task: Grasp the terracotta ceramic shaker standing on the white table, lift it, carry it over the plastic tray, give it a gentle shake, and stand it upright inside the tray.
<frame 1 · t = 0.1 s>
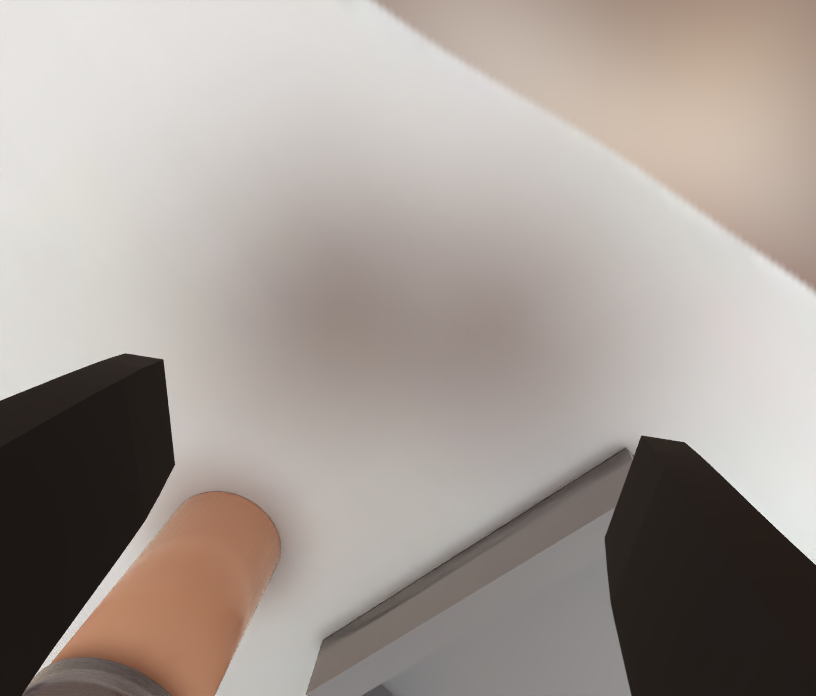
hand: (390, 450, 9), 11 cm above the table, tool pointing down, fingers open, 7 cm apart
shaker: (225, 540, 23), on the table
tray: (576, 677, 23), on the table
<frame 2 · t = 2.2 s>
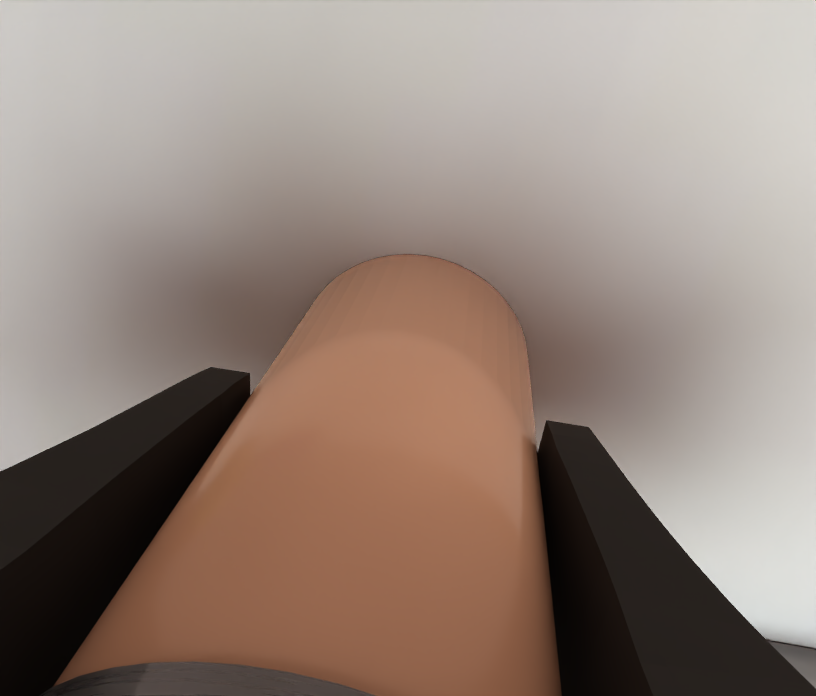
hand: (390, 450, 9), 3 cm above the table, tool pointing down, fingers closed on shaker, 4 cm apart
shaker: (411, 363, 11), on the table, touching gripper
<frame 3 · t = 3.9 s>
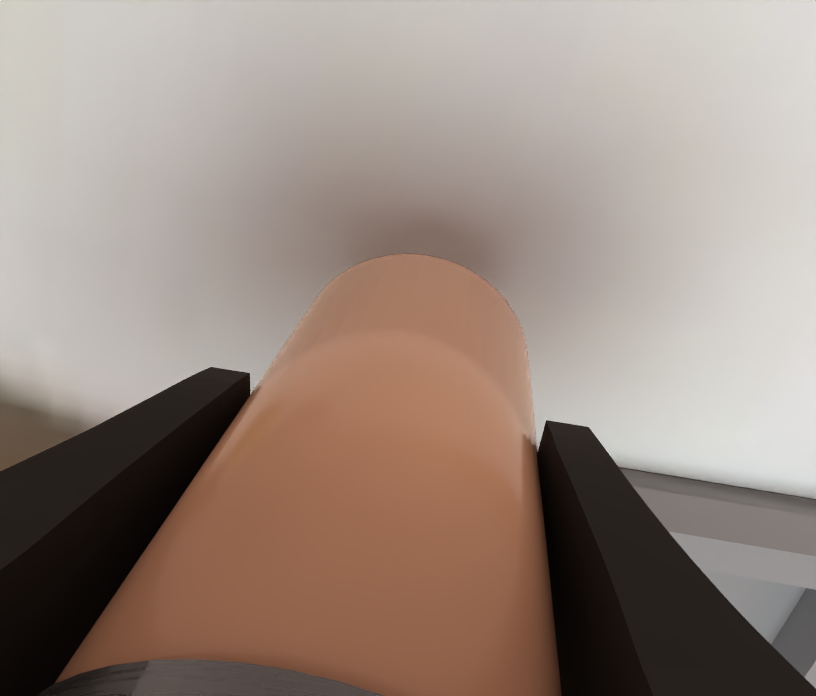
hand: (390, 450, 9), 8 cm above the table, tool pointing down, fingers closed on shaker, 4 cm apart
shaker: (411, 363, 11), point 5 cm above the table, touching gripper
tray: (580, 620, 22), on the table
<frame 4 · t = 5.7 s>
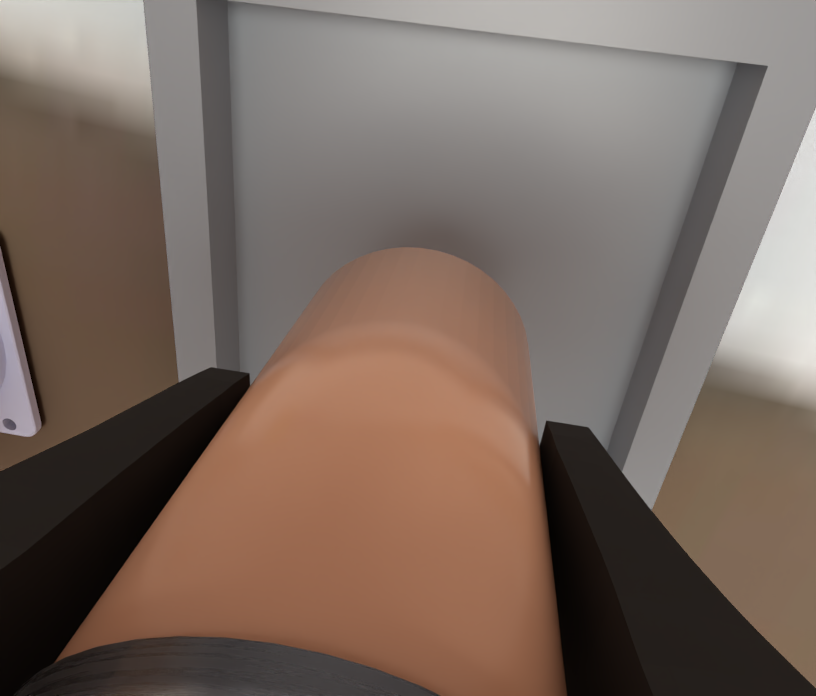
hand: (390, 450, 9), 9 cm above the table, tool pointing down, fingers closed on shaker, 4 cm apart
shaker: (412, 357, 11), point 7 cm above the table, touching gripper
tray: (443, 261, 17), on the table
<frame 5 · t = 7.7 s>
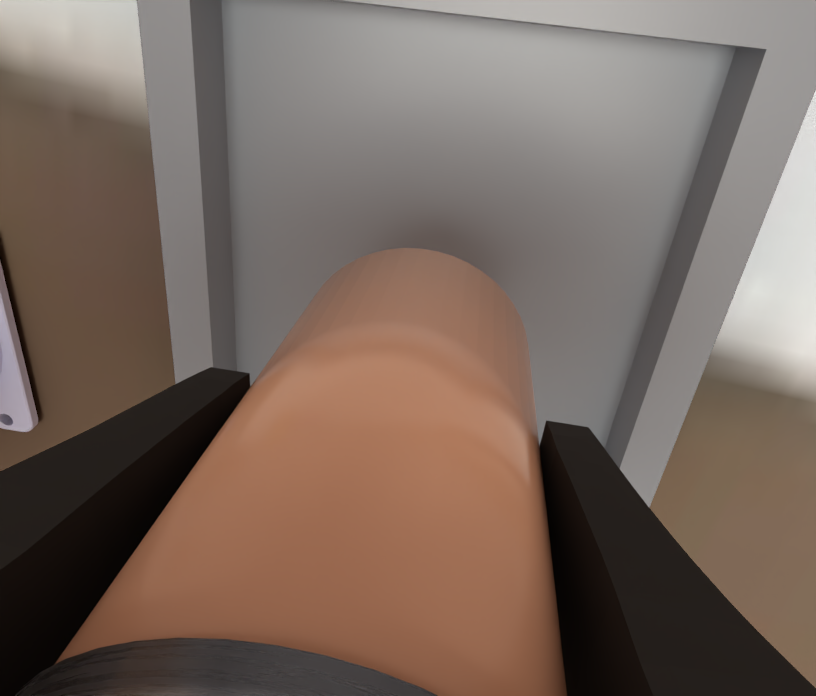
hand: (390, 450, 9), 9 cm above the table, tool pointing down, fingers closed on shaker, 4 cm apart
shaker: (412, 358, 11), point 7 cm above the table, touching gripper
tray: (440, 252, 17), on the table
when the fingers open (5 cm above the table, at t = 9.2 s): shaker drops 1 cm, resting on tray.
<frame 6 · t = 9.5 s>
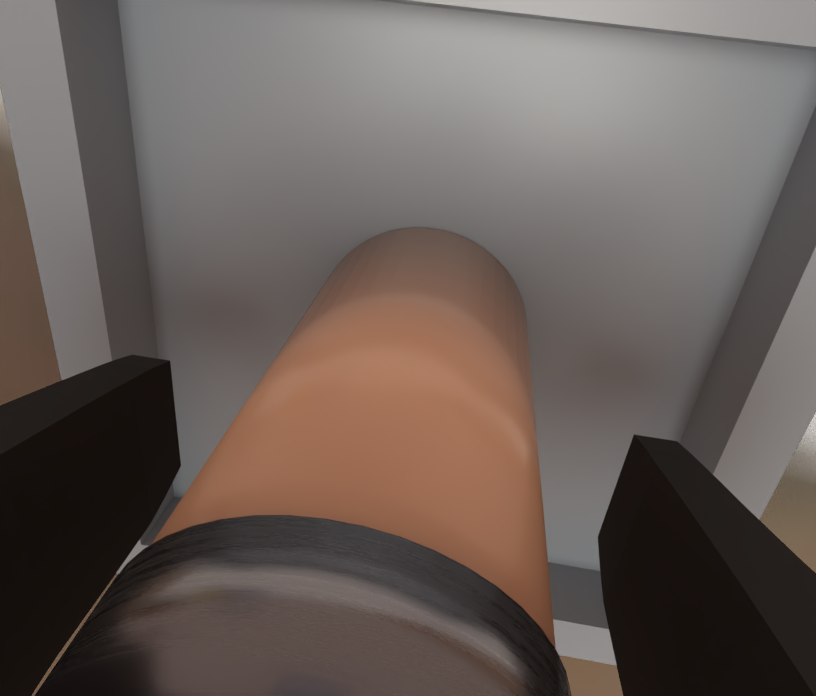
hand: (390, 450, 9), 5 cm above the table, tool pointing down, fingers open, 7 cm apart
shaker: (421, 328, 13), point 1 cm above the table, touching tray
tray: (424, 316, 13), on the table
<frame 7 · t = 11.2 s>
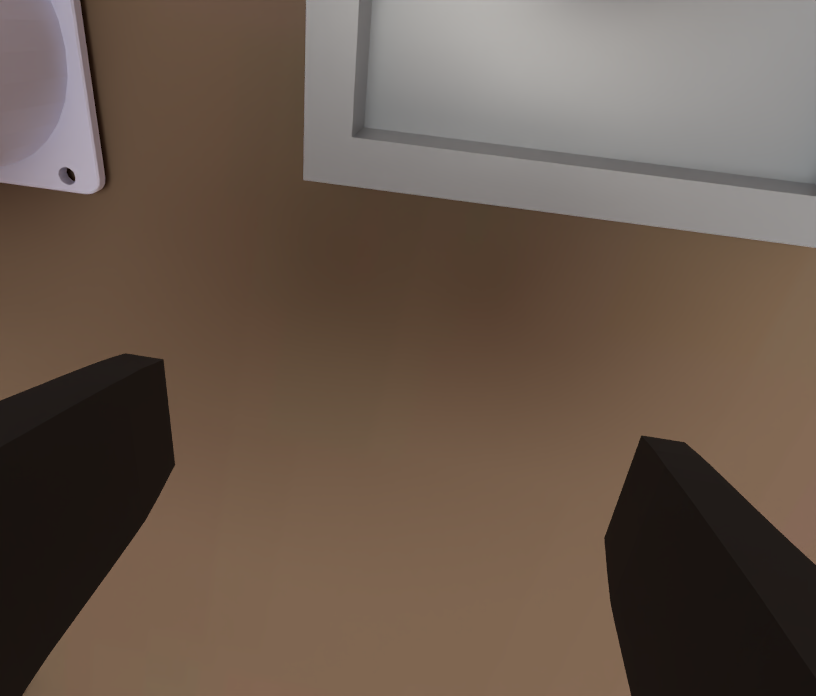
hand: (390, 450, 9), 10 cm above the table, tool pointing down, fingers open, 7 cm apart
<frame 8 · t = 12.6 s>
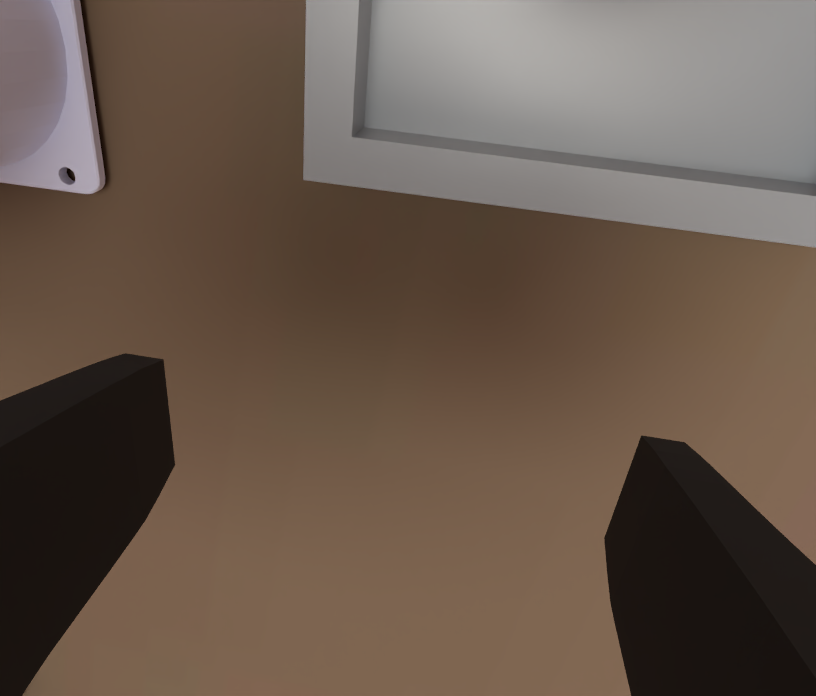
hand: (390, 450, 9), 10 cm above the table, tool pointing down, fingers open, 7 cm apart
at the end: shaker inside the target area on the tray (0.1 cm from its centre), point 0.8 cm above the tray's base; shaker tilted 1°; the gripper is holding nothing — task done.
